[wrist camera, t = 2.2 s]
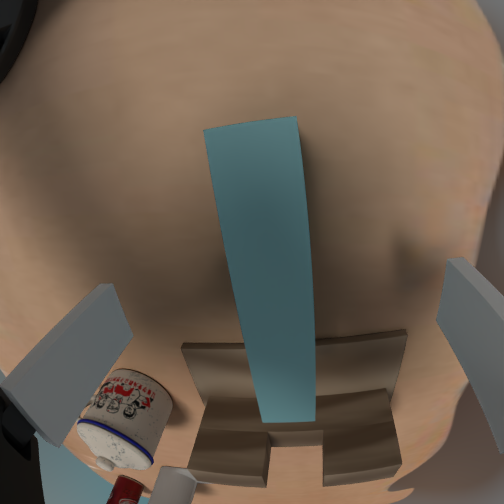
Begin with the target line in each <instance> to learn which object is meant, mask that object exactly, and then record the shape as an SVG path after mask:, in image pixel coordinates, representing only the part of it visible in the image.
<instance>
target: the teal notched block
mask: <svg viewBox="0 0 504 504" xmlns="http://www.w3.org/2000/svg"><path fill="white" fill-rule="evenodd" d="M203 131H204V137H205V143H206V149H207V155H208V161H209V166H210V172H211V178H212V183H213V189H214V194H215V200H216V205H217V211H218V216H219V221H220V227H221V232H222V237H223V242H224V247H225V252H226V258H227V263H228V268H229V273H230V278H231V282H232V287H233V292H234V297H235V302H236V307H237V311H238V316H239V321H240V326H241V330H242V335H243V339H244V344H245V349H246V353H247V358H248V362H249V366H250V371H251V375H252V380H253V384H254V388H255V393H256V397H257V401H258V406H259V410H260V414H261V418H262V422H263V423H283V422H309V421H315V408H316V361H315V320H314V296H313V277H312V261H311V247H310V234H309V222H308V211H307V200H306V190H305V181H304V172H303V163H302V155H301V147H300V139H299V132H298V124H297V117H296V116H293V117H284V118H275V119H267V120H260V121H252V122H246V123H239V124H233V125H227V126H222V127H216V128H211V129H206V130H203Z"/></svg>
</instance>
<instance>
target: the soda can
mask: <svg viewBox="0 0 504 504" xmlns="http://www.w3.org/2000/svg"><path fill="white" fill-rule="evenodd" d="M143 489H144V487H143V485H142V484H141V483H140V482H138V481H136V480H134V479H132V478H130V477H127V476H124V475H120V476H118V478H117V480H116V482H115V485H114V487H113V489H112V491H111V494H110V496H109V499H108V501H107V503H106V504H138V502H139V499H140V497H141V494H142V491H143Z"/></svg>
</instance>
